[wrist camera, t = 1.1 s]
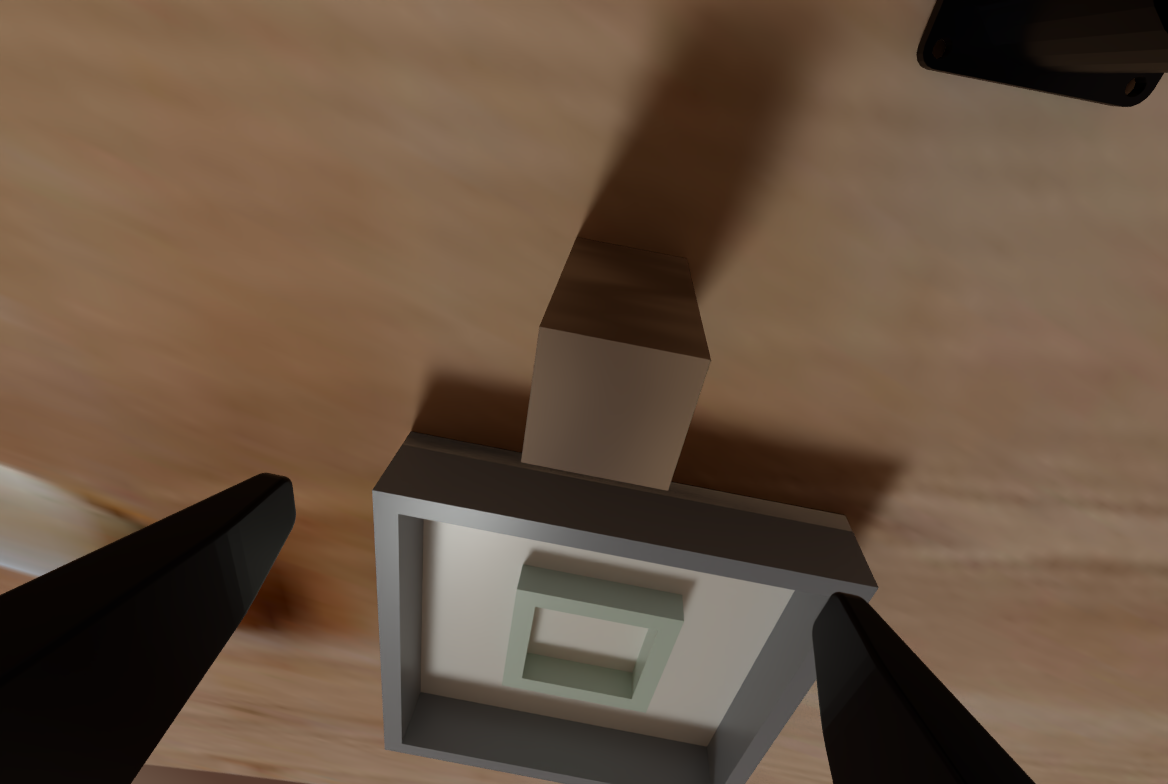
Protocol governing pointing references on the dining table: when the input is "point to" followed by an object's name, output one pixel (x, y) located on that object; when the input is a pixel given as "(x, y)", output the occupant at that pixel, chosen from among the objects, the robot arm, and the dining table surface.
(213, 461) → the dining table surface
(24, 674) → the robot arm
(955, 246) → the dining table surface
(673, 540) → the walled box
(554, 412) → the peg
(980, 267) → the dining table surface
